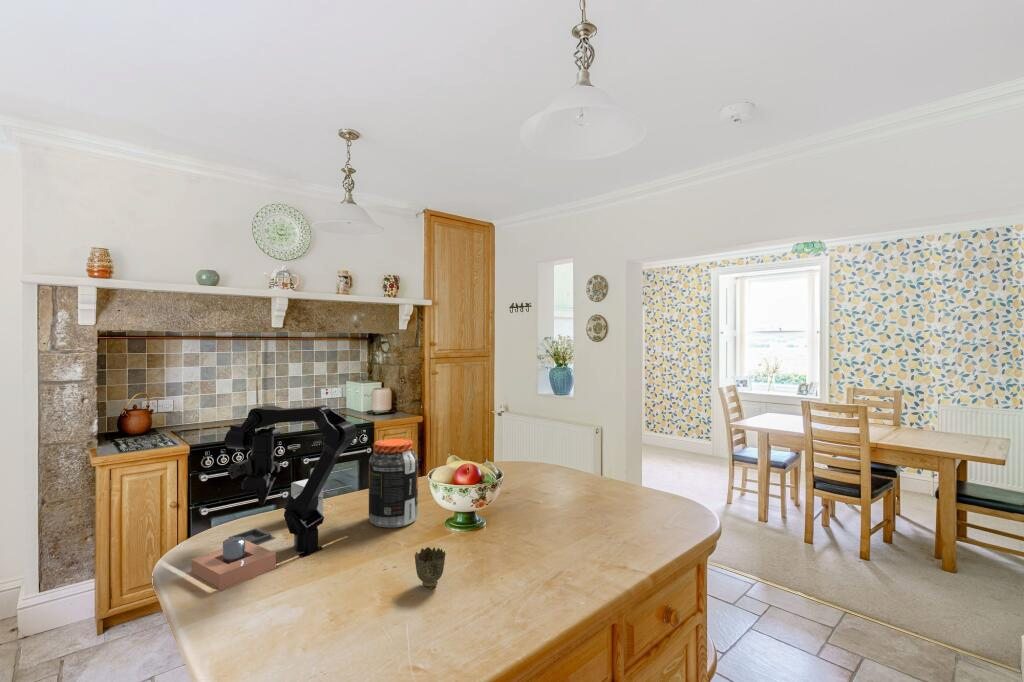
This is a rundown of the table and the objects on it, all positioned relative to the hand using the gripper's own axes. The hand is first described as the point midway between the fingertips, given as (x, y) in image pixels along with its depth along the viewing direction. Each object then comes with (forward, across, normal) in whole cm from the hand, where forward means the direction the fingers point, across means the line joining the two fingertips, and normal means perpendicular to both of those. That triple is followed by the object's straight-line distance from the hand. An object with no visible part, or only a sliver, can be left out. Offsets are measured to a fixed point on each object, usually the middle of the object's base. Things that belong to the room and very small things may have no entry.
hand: (261, 504), depth 144 cm
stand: (+12, -3, -4) cm, 13 cm away
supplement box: (+12, -18, +10) cm, 24 cm away
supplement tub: (+12, -12, +37) cm, 41 cm away
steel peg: (+12, +16, -3) cm, 20 cm away
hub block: (+12, +16, -3) cm, 20 cm away
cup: (+12, +34, +45) cm, 58 cm away
